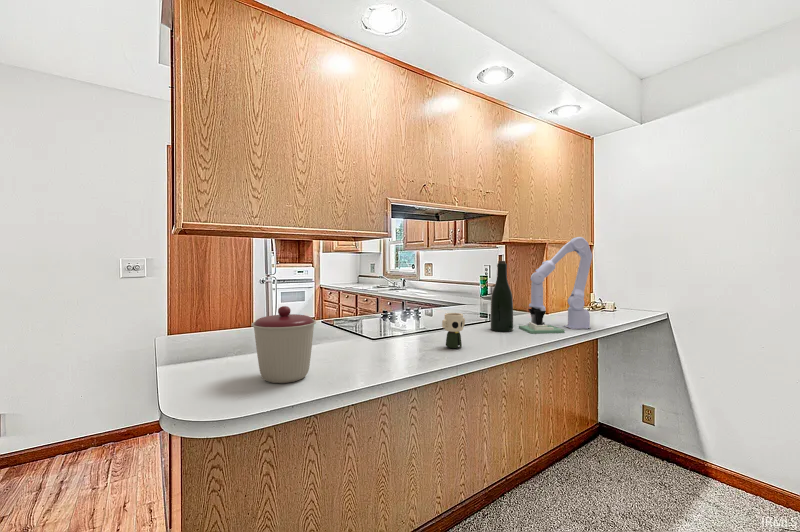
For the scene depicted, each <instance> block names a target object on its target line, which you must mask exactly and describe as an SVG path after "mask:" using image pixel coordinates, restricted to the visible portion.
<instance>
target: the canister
mask: <svg viewBox="0 0 800 532" xmlns="http://www.w3.org/2000/svg"><path fill="white" fill-rule="evenodd" d="M291 311H292V310H291V308H290V307H289V306H286V305H284V306H280V307H278V309H277V314H272V315H267V316H262V317H260V318H257V319H256V320H255V321H253V322H252V323H251V327H253V332H254V333H253V334H254V340H255V346H256V354H257V361H258V369H259V373H260V375H261V378H262V379H263V380H264V381H265V382H268V383H273V384H286V383H293V382H297V381H300V380H302V379H304V378H305V377H306V376H307V375H308V373H309V370H310V365H311V357H312V347H313V339H314V329H315V328H314V327H315V324H316V323H317V320H316V319H313V318H312V317H311V316H308V315H305V314H294V313H293V314H292V313H291Z"/></svg>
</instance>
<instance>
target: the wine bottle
mask: <svg viewBox="0 0 800 532" xmlns="http://www.w3.org/2000/svg"><path fill="white" fill-rule="evenodd" d="M497 262H498V263H497V265H496V266H497V270H496V271H497V272H496V281H495V284H494V287H493V290H492V292H491V297H490V298H491V299H490V323H489V324H490V326H489V327H490V330H491V331H494V332H497V333H498V332H500V333H502V332H503V333H504V332H505V333H507V332H512V331H513V330H514V300H513V293H512V290H511V287H510V285H509V281H508V276H507V275H508V273H507V271H508V270H507V269H508V268H507V267H508V264H507V263H506V261H505V260H498V261H497Z"/></svg>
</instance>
